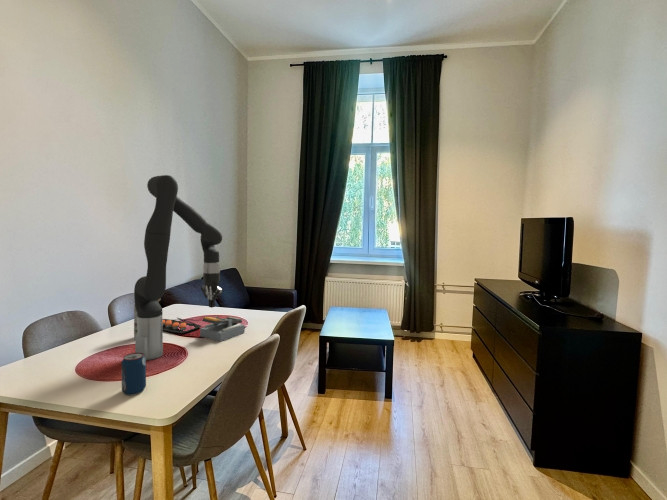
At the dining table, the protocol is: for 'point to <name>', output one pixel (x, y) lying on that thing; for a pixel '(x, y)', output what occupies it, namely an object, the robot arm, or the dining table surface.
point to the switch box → (218, 334)
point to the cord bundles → (225, 328)
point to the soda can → (133, 373)
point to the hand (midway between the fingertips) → (211, 307)
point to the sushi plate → (173, 325)
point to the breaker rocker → (221, 320)
